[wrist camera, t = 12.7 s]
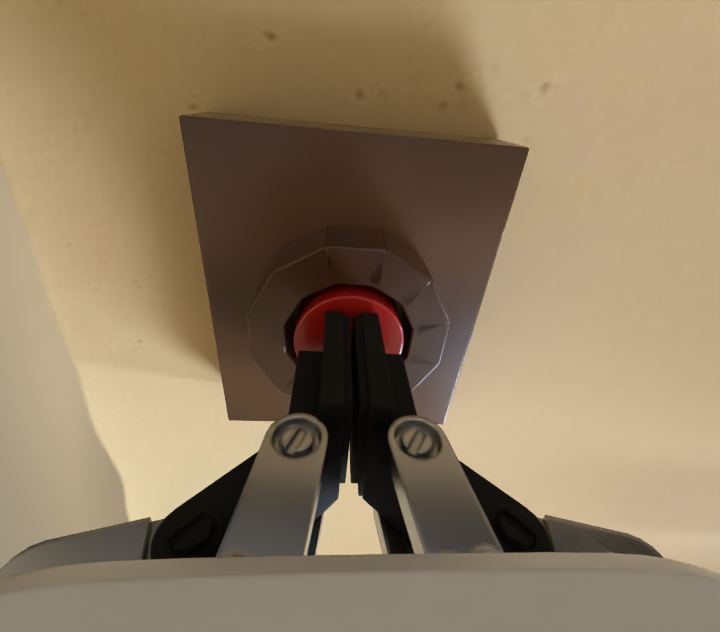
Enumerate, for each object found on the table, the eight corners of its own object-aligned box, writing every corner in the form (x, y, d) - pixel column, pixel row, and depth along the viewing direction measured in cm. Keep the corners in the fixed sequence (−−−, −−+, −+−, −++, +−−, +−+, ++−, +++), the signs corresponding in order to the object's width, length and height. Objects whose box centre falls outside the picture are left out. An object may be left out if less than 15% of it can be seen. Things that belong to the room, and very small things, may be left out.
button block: (204, 112, 11) (146, 118, 8) (501, 140, 12) (563, 156, 9) (240, 386, 18) (216, 455, 14) (433, 391, 18) (454, 457, 15)
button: (297, 268, 12) (291, 293, 10) (403, 274, 12) (413, 299, 11) (298, 353, 14) (294, 384, 12) (390, 356, 14) (395, 387, 12)
